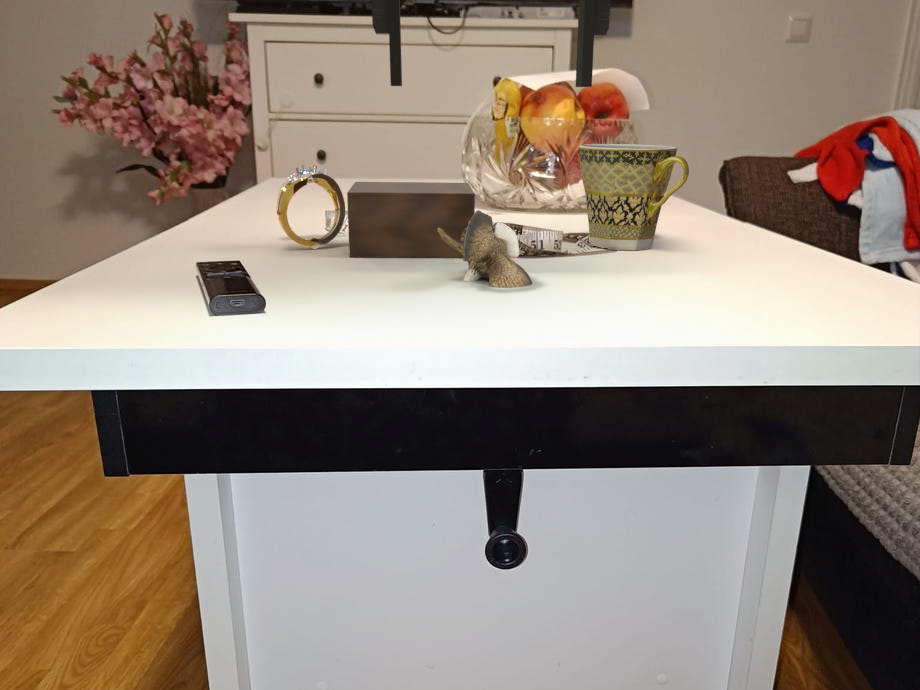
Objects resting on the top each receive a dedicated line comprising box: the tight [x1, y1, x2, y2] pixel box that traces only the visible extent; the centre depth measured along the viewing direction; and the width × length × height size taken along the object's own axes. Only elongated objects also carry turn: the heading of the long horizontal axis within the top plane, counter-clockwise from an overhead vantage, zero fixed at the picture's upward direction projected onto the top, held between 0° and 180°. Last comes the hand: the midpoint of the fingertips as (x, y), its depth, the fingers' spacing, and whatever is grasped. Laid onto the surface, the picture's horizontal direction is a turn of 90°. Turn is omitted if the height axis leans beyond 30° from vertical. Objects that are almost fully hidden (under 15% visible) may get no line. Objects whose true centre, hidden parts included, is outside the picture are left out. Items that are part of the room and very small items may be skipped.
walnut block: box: [346, 181, 476, 259], centre depth 94 cm, size 12×12×6 cm
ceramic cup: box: [578, 143, 690, 251], centre depth 96 cm, size 13×10×10 cm
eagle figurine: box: [437, 209, 533, 289], centre depth 72 cm, size 8×7×9 cm
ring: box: [276, 164, 346, 250], centre depth 93 cm, size 7×3×8 cm, turn 119°
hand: (490, 87), depth 67 cm, fingers open, 13 cm apart
